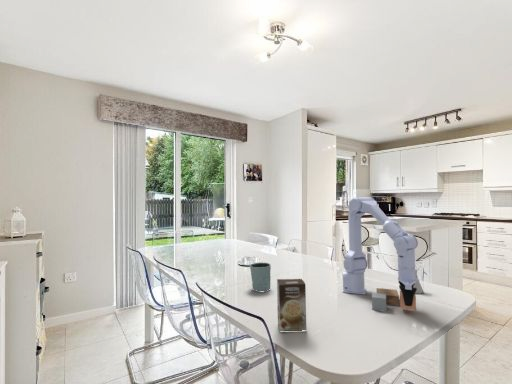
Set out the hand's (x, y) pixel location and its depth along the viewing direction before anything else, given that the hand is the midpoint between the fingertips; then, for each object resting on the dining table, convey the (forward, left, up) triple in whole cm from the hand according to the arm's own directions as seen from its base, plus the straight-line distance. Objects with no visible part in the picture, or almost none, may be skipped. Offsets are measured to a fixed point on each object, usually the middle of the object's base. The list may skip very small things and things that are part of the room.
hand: (407, 302), depth 106 cm
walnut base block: (-7, +9, -4) cm, 12 cm away
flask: (+4, +25, -4) cm, 26 cm away
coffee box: (-37, -28, -4) cm, 47 cm away
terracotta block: (0, 0, -2) cm, 2 cm away
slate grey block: (-10, 0, -3) cm, 11 cm away
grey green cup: (-63, +5, -4) cm, 63 cm away
